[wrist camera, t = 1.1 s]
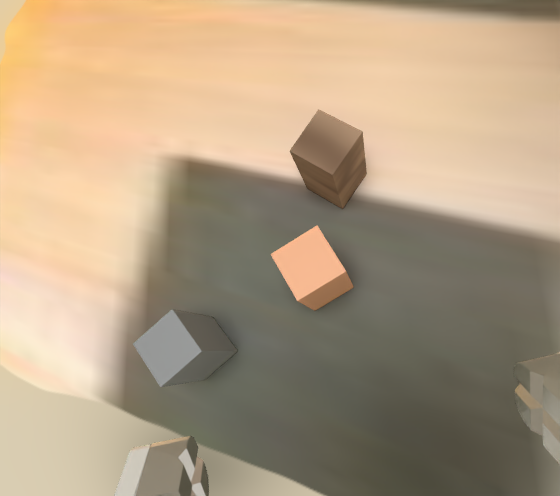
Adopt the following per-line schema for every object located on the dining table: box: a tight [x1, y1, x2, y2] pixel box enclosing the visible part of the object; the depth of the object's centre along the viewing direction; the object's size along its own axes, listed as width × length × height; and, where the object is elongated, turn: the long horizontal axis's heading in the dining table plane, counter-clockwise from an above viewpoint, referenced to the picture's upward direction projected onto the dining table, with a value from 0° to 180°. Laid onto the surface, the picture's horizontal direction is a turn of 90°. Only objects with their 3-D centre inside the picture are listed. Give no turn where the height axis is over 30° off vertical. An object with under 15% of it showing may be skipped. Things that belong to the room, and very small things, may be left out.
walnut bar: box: [290, 110, 367, 209], centre depth 40 cm, size 4×4×9 cm
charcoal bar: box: [133, 309, 237, 387], centre depth 39 cm, size 4×4×9 cm
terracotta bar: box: [271, 226, 354, 311], centre depth 38 cm, size 4×4×9 cm
